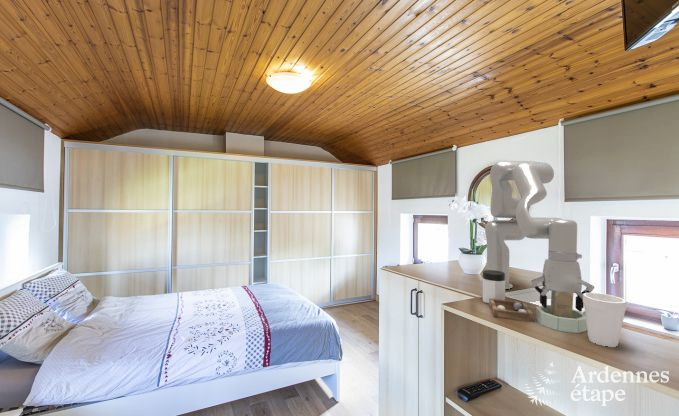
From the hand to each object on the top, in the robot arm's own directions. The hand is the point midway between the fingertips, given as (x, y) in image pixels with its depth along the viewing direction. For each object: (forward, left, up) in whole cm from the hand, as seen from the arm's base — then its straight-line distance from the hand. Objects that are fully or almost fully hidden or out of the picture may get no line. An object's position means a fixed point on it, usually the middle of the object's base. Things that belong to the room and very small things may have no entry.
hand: (561, 308), depth 100 cm
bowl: (0, 0, -5) cm, 5 cm away
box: (0, 0, -5) cm, 5 cm away
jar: (-17, -18, -5) cm, 25 cm away
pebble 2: (-9, -11, -5) cm, 15 cm away
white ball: (-2, -11, -5) cm, 12 cm away
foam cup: (+11, +7, -5) cm, 14 cm away
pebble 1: (-3, -17, -2) cm, 18 cm away
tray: (-6, -14, -5) cm, 16 cm away
